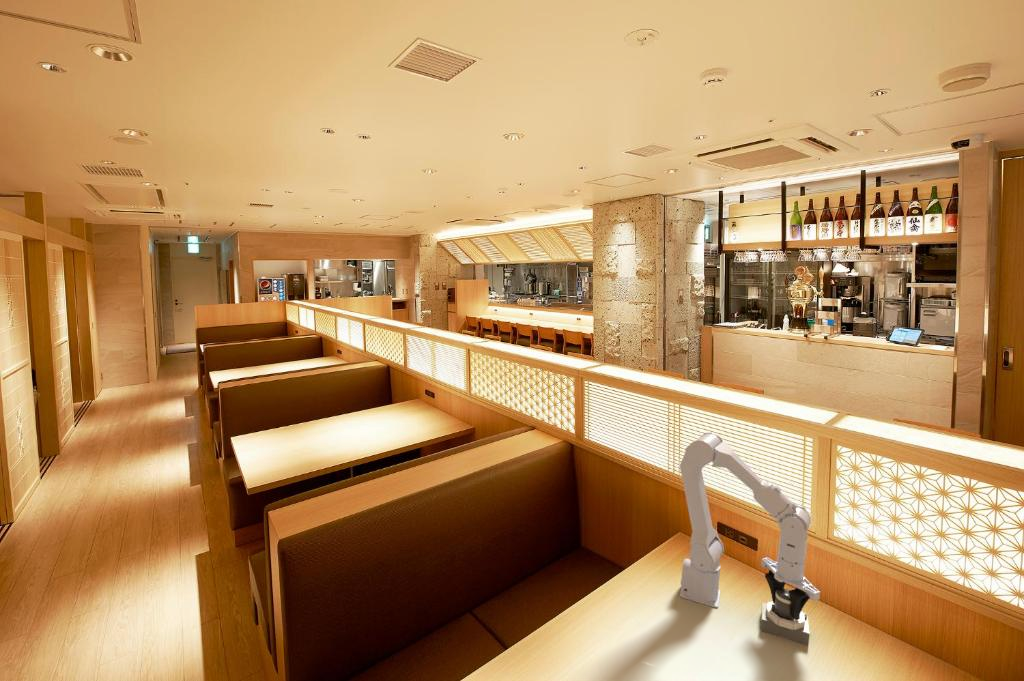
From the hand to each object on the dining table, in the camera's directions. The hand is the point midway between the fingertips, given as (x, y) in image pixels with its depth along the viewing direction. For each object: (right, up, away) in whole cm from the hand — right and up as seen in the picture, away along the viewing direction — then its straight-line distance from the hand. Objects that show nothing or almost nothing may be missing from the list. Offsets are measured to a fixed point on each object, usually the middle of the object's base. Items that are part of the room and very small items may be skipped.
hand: (785, 609), depth 120 cm
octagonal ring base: (0, -5, +1) cm, 5 cm away
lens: (0, -2, 0) cm, 2 cm away
